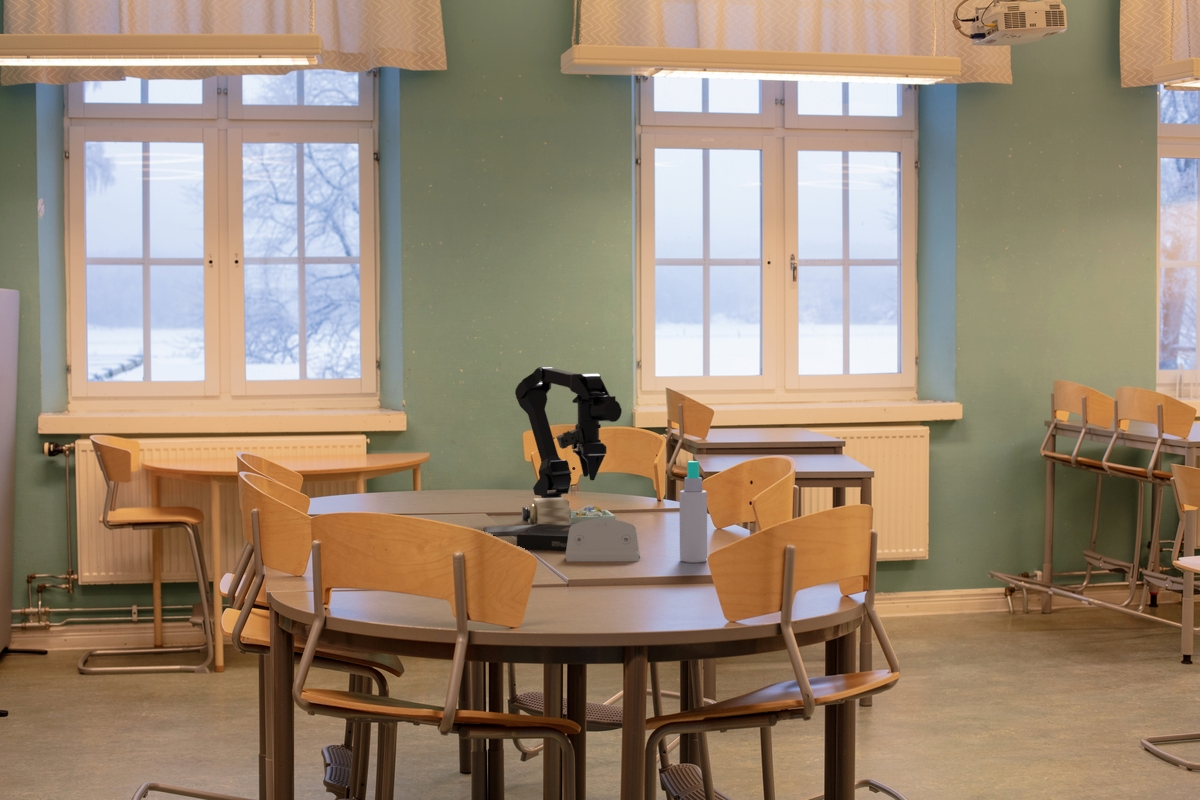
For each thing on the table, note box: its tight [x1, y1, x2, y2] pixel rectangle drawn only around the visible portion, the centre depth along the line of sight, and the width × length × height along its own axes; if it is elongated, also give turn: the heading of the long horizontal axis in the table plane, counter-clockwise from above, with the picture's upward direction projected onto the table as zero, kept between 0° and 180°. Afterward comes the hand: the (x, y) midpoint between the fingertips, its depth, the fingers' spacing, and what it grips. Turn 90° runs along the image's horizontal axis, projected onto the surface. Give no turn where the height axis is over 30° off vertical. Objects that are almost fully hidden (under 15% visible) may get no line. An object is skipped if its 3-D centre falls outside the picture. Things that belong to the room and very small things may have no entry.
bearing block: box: [483, 497, 576, 537], centre depth 303 cm, size 26×9×8 cm, turn 101°
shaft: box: [521, 503, 572, 525], centre depth 304 cm, size 12×5×5 cm, turn 101°
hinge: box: [564, 519, 641, 562], centre depth 265 cm, size 17×5×10 cm, turn 88°
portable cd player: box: [516, 524, 572, 552], centre depth 283 cm, size 16×17×4 cm
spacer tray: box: [569, 509, 616, 524], centre depth 317 cm, size 11×12×2 cm
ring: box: [576, 503, 603, 517], centre depth 313 cm, size 7×3×8 cm
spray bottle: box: [679, 460, 708, 564], centre depth 260 cm, size 6×6×22 cm
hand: (588, 478), depth 317 cm, fingers open, 9 cm apart
